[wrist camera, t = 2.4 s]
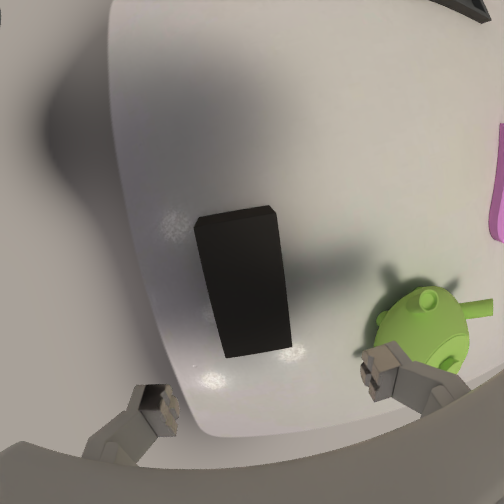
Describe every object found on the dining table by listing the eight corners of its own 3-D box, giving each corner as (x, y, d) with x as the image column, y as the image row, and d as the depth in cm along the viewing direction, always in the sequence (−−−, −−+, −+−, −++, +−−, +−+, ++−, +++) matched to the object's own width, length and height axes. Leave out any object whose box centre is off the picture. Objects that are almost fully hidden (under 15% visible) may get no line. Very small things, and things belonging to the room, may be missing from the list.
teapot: (336, 363, 25) (368, 428, 16) (385, 253, 21) (449, 298, 13) (415, 365, 26) (452, 412, 18) (460, 276, 23) (514, 312, 15)
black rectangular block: (198, 217, 19) (193, 227, 16) (269, 205, 19) (276, 212, 17) (225, 336, 22) (225, 358, 20) (285, 325, 23) (292, 347, 20)
